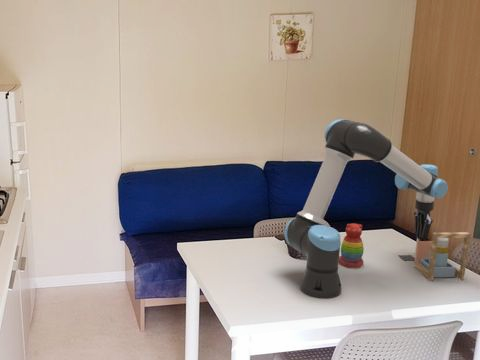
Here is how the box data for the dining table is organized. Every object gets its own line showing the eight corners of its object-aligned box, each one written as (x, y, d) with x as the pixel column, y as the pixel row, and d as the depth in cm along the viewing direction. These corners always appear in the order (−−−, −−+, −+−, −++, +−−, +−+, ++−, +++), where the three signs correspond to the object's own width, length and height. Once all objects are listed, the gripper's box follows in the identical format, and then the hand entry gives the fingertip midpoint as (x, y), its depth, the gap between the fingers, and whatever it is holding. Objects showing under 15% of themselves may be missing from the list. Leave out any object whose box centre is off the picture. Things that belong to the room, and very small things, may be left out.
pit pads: (403, 260, 237) (403, 260, 237) (398, 255, 243) (398, 255, 243) (438, 260, 240) (438, 259, 239) (432, 255, 245) (432, 254, 245)
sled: (431, 277, 219) (433, 256, 217) (411, 260, 237) (413, 241, 235) (454, 276, 221) (457, 255, 219) (433, 260, 238) (435, 240, 236)
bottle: (448, 276, 221) (452, 241, 218) (430, 275, 222) (435, 240, 218) (442, 270, 228) (446, 235, 225) (425, 269, 228) (429, 235, 225)
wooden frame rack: (429, 281, 216) (435, 234, 211) (413, 267, 230) (418, 223, 225) (464, 280, 218) (470, 233, 213) (446, 267, 232) (451, 222, 227)
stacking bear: (362, 260, 236) (365, 220, 232) (365, 269, 226) (369, 228, 222) (337, 258, 237) (340, 219, 233) (338, 267, 227) (342, 226, 223)
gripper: (440, 204, 230) (434, 257, 235) (426, 196, 242) (420, 247, 247) (423, 204, 229) (417, 257, 234) (410, 196, 241) (404, 247, 246)
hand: (419, 252), depth 241 cm, fingers closed
